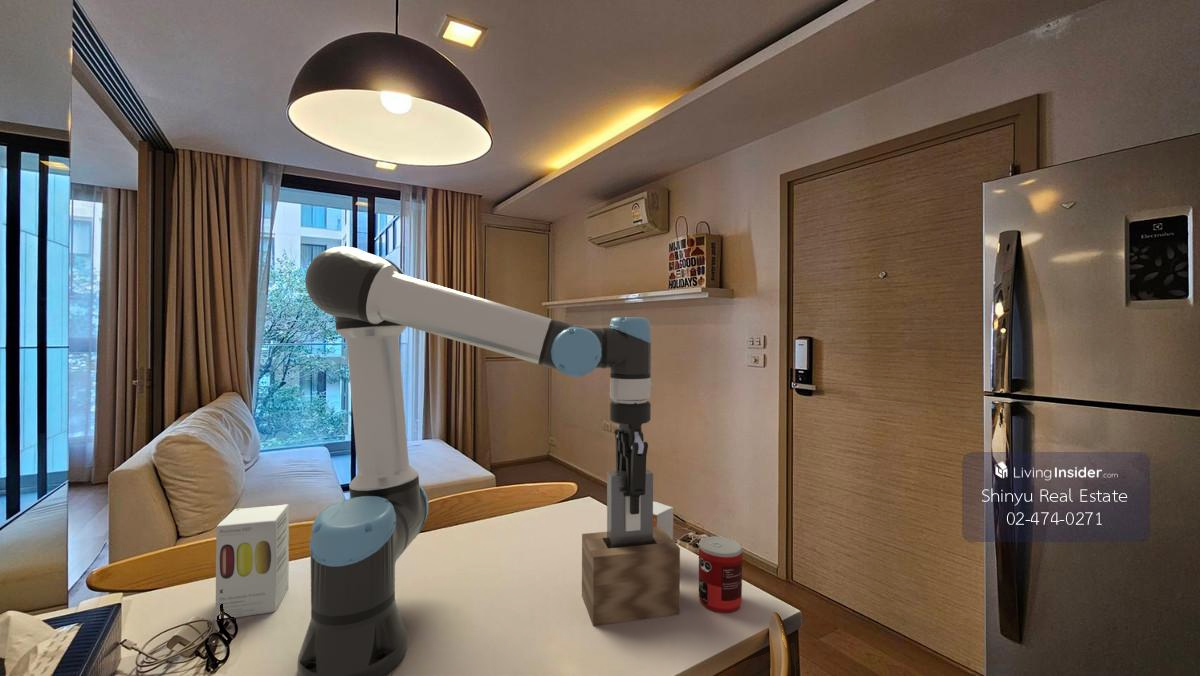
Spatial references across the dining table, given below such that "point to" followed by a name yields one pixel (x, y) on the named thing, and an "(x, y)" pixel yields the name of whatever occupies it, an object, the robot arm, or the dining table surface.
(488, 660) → the dining table surface
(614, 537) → the grey slab
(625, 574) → the wooden planter box
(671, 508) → the small box
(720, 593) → the canned food
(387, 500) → the robot arm
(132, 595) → the dining table surface
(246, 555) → the supplement box
